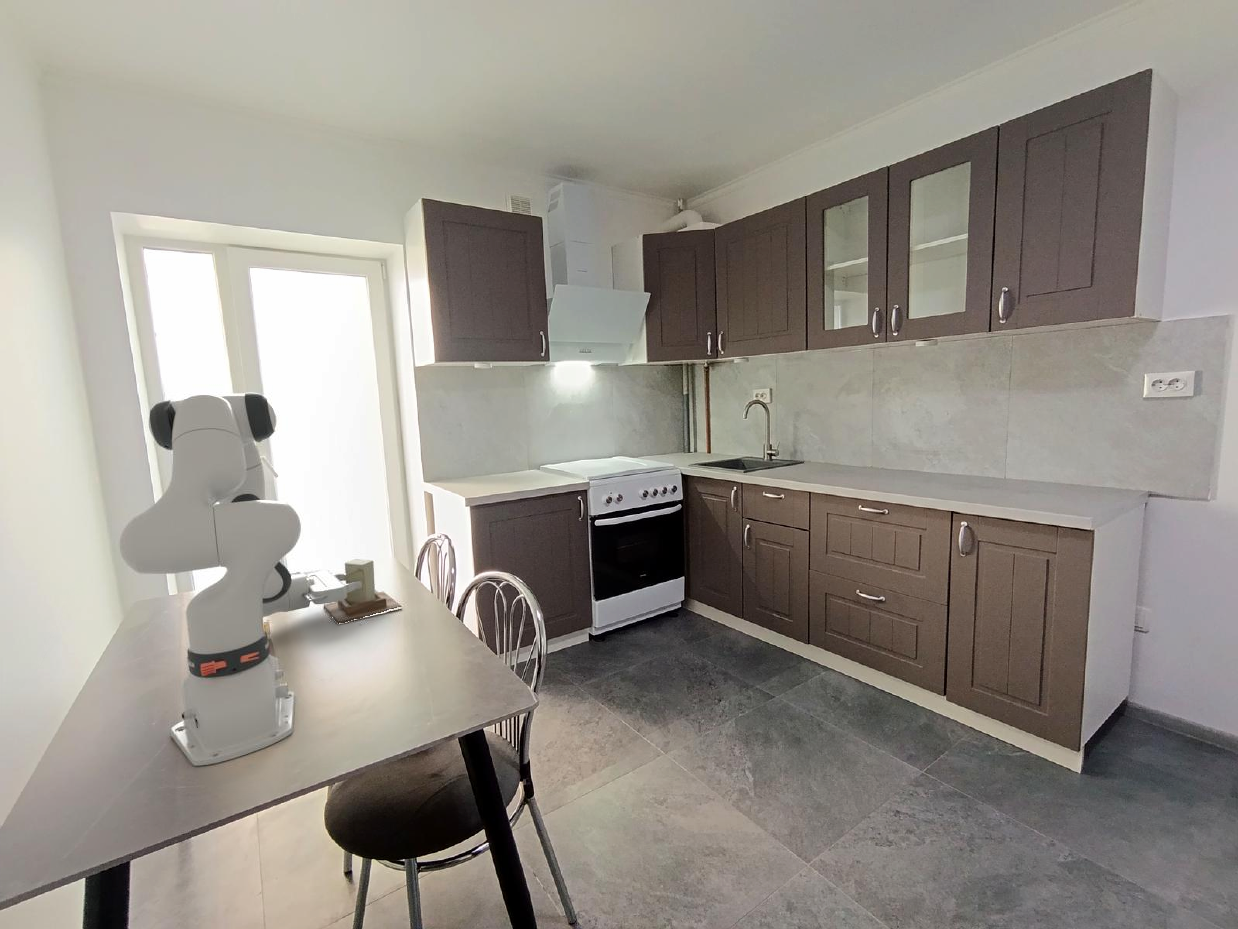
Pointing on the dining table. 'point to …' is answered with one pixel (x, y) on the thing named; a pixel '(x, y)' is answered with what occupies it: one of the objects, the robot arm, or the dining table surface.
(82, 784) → the dining table surface
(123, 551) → the robot arm
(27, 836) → the dining table surface
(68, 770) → the dining table surface
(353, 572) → the skincare box
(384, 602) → the brown box holder base
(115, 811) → the dining table surface
